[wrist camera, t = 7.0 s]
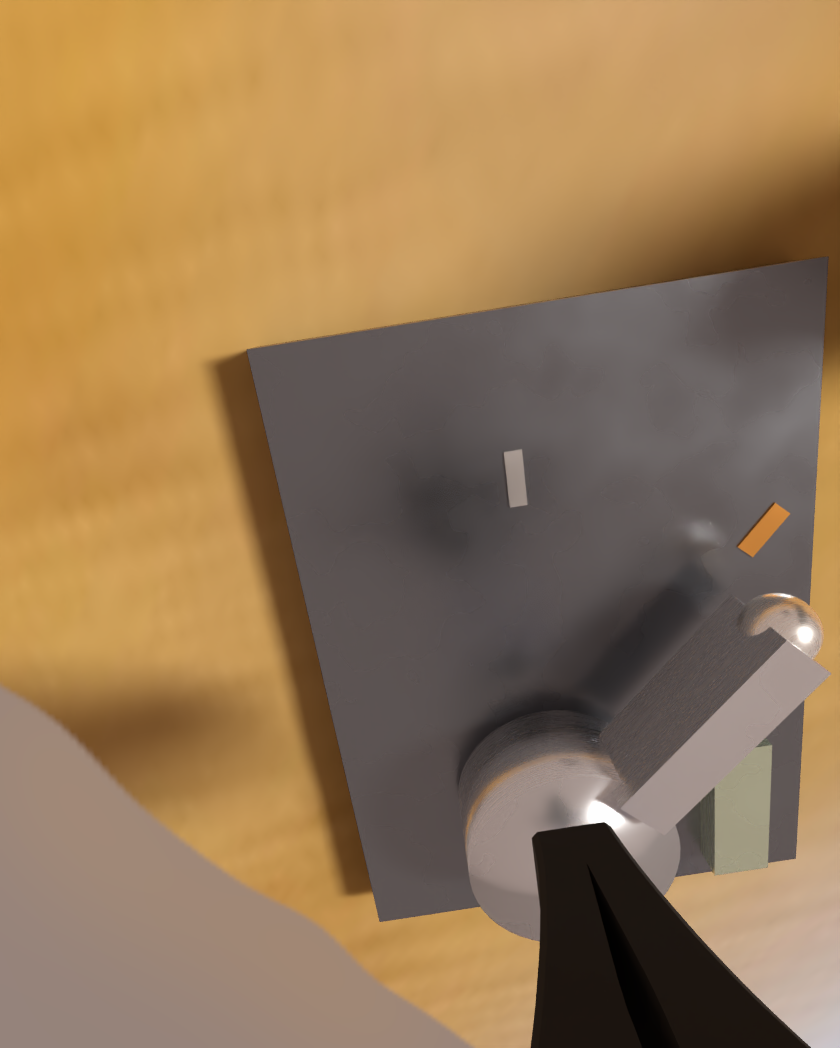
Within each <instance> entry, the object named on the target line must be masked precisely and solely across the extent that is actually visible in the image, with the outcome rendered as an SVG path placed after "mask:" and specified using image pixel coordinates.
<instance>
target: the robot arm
mask: <svg viewBox="0 0 840 1048" xmlns="http://www.w3.org/2000/svg"><path fill="white" fill-rule="evenodd" d="M532 846H533V854H534V862H535V871H536V879H537V887H538V895H539V904H540V951H539V967H538V980H537V993H536V1006H535V1015H534V1024H533V1033H532V1041H531V1048H811V1047H810V1046H809V1045H807V1044H806V1043H805V1042H804V1041H803V1040H802V1039H801V1038H800V1037H799V1036H798V1035H796V1034H795V1033H794V1032H793V1031H792V1030H791V1029H790V1028H789V1027H788V1026H787V1025H786V1024H785V1023H784V1022H783V1021H781V1020H780V1019H779V1018H778V1017H777V1016H776V1015H775V1014H774V1013H773V1012H772V1011H771V1010H770V1009H769V1008H768V1007H767V1006H766V1005H765V1004H764V1003H763V1002H762V1001H761V1000H760V999H759V998H757V997H756V996H755V995H754V994H753V993H752V992H751V991H750V990H749V989H748V988H747V987H746V986H745V985H744V984H743V983H742V982H741V981H740V979H739V978H738V977H737V976H736V975H735V974H734V973H733V972H732V971H731V970H730V969H729V968H728V967H727V966H726V965H725V964H724V963H723V962H722V961H721V960H720V959H719V958H718V957H717V955H716V954H715V953H714V952H713V951H712V950H711V949H710V948H709V947H708V946H707V945H706V944H705V943H704V941H703V940H702V939H701V938H700V937H699V936H698V935H697V934H696V933H695V931H694V930H693V929H692V928H691V927H690V926H689V925H688V923H687V922H686V921H685V920H684V919H683V918H682V917H681V915H680V914H679V913H678V912H677V911H676V910H675V909H674V907H673V906H672V905H671V904H670V903H669V902H668V900H667V899H666V898H665V897H664V896H663V894H662V893H661V892H660V891H659V890H658V888H657V887H656V886H655V885H654V883H653V882H652V881H651V880H650V878H649V877H648V876H647V875H646V873H645V872H644V871H643V870H642V868H641V867H640V866H639V865H638V863H637V862H636V861H635V859H634V858H633V857H632V855H631V854H630V853H629V851H628V850H627V849H626V847H625V846H624V845H623V843H622V842H621V840H620V839H619V838H618V836H617V835H616V833H615V832H614V830H613V829H612V827H611V826H610V825H608V824H607V823H606V822H599V823H592V824H586V825H579V826H573V827H566V828H560V829H553V830H546V831H540V832H537V833H536V834H535V835H534V836H533V837H532Z"/></svg>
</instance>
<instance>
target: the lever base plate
mask: <svg viewBox="0 0 840 1048" xmlns="http://www.w3.org/2000/svg"><path fill="white" fill-rule="evenodd" d="M827 274H828V257H820V258H813V259H805V260H797V261H790V262H784V263H778V264H771V265H765V266H759V267H753V268H746V269H740V270H734V271H728V272H722V273H715V274H709V275H703V276H697V277H690V278H684V279H678V280H672V281H665V282H659V283H653V284H647V285H640V286H634V287H628V288H622V289H615V290H609V291H603V292H597V293H590V294H584V295H578V296H572V297H565V298H559V299H553V300H547V301H541V302H534V303H528V304H522V305H516V306H509V307H503V308H497V309H491V310H484V311H478V312H472V313H466V314H459V315H453V316H447V317H441V318H434V319H428V320H422V321H416V322H409V323H403V324H397V325H391V326H384V327H378V328H372V329H366V330H360V331H353V332H347V333H341V334H335V335H328V336H322V337H316V338H310V339H303V340H297V341H291V342H285V343H278V344H272V345H266V346H260V347H255V348H251V349H247V354H248V358H249V362H250V367H251V371H252V375H253V380H254V384H255V388H256V393H257V397H258V401H259V405H260V410H261V414H262V418H263V423H264V427H265V431H266V436H267V440H268V444H269V448H270V453H271V457H272V461H273V466H274V470H275V474H276V478H277V483H278V487H279V491H280V496H281V500H282V504H283V509H284V513H285V517H286V521H287V526H288V530H289V534H290V539H291V543H292V547H293V551H294V556H295V560H296V564H297V569H298V573H299V577H300V582H301V586H302V590H303V594H304V599H305V603H306V607H307V612H308V616H309V620H310V624H311V629H312V633H313V637H314V642H315V646H316V650H317V655H318V659H319V663H320V667H321V672H322V676H323V680H324V685H325V689H326V693H327V697H328V702H329V706H330V710H331V715H332V719H333V723H334V728H335V732H336V736H337V740H338V745H339V749H340V753H341V758H342V762H343V766H344V770H345V775H346V779H347V783H348V788H349V792H350V796H351V801H352V805H353V809H354V813H355V818H356V822H357V826H358V831H359V835H360V839H361V844H362V848H363V852H364V856H365V861H366V865H367V869H368V874H369V878H370V882H371V886H372V891H373V895H374V899H375V904H376V908H377V912H378V917H379V921H380V922H383V921H389V920H396V919H402V918H409V917H415V916H422V915H429V914H435V913H442V912H448V911H455V910H461V909H468V908H474V907H481V906H480V905H479V903H478V902H477V900H476V898H475V896H474V894H473V891H472V887H471V884H470V878H469V871H468V864H467V857H466V849H465V842H464V835H463V827H462V820H461V813H460V805H459V796H458V790H459V781H460V777H461V773H462V770H463V768H464V765H465V763H466V761H467V760H468V758H469V756H470V754H471V753H472V752H473V751H474V749H475V748H476V747H477V745H478V744H479V743H480V742H481V741H482V740H483V739H484V738H485V737H487V736H488V735H489V734H490V733H492V732H493V731H494V730H496V729H497V728H499V727H501V726H502V725H504V724H505V723H508V722H510V721H512V720H514V719H516V718H519V717H522V716H525V715H528V714H532V713H537V712H542V711H551V710H567V711H575V712H581V713H585V714H589V715H592V716H594V717H597V718H599V719H601V720H603V721H605V722H607V723H609V724H610V722H611V721H612V720H613V719H614V718H615V717H616V716H617V715H618V714H619V713H620V712H621V711H622V710H623V709H624V708H625V707H626V705H627V704H628V703H629V702H630V701H631V700H632V699H633V698H634V697H635V696H636V695H637V694H638V693H639V692H640V691H641V689H642V688H643V687H644V686H645V685H646V684H647V683H648V682H649V681H650V680H651V679H652V678H653V677H654V676H655V675H656V674H657V672H658V671H659V670H660V669H661V668H662V667H663V666H664V665H665V664H666V663H667V662H668V661H669V660H670V659H671V658H672V657H673V655H674V654H675V653H676V652H677V651H678V650H679V649H680V648H681V647H682V646H683V645H684V644H685V643H686V642H687V641H688V640H689V638H690V637H691V636H692V635H693V634H694V633H695V632H696V631H697V630H698V629H699V628H700V627H701V626H702V625H703V624H704V622H705V621H706V620H707V619H708V618H709V617H710V616H711V615H712V614H713V613H714V612H715V611H716V610H717V609H718V608H719V607H720V605H721V604H722V603H723V602H724V601H725V600H726V599H727V598H728V597H729V596H730V595H731V594H732V595H733V596H734V597H736V598H737V599H738V600H740V601H741V602H742V603H744V604H746V603H747V602H749V601H750V600H752V599H753V598H755V597H757V596H760V595H763V594H767V593H784V594H789V595H792V596H795V597H797V598H799V599H801V600H803V601H804V602H806V603H807V604H808V605H810V587H811V568H812V550H813V532H814V513H815V495H816V477H817V458H818V440H819V421H820V403H821V385H822V366H823V348H824V330H825V311H826V293H827ZM803 715H804V701H803V702H802V703H801V704H800V705H799V706H798V707H797V708H795V709H794V710H793V711H792V712H791V713H790V714H789V715H788V716H787V717H786V718H785V719H784V720H783V721H782V722H781V723H780V724H779V725H778V726H777V727H776V728H775V729H774V730H773V731H772V732H771V733H770V734H769V735H768V736H767V737H766V738H765V739H764V740H762V741H761V742H760V743H759V744H758V745H757V746H756V747H755V748H754V749H753V750H752V751H751V752H750V753H749V754H748V755H747V756H746V757H745V758H744V759H743V760H742V761H741V762H740V763H739V764H738V765H737V766H736V767H735V768H734V769H733V770H732V771H731V772H730V773H728V774H727V775H726V776H725V777H724V778H723V779H722V780H721V781H720V782H719V783H718V784H717V785H716V786H715V787H714V788H713V789H712V790H711V791H710V792H709V793H708V794H707V795H706V796H705V797H704V798H703V799H702V800H701V801H700V802H699V803H698V804H697V805H695V806H694V807H693V808H692V809H691V810H690V811H689V812H688V813H687V814H686V815H685V816H684V817H683V818H682V819H681V820H680V821H679V822H678V823H677V824H676V825H675V826H676V828H677V831H678V835H679V839H680V848H681V849H680V861H679V866H678V870H677V873H676V875H675V877H678V876H684V875H691V874H698V873H704V872H711V871H712V872H713V873H714V875H722V874H728V873H735V872H741V871H748V870H754V869H761V868H768V863H770V862H776V861H783V860H789V859H796V844H797V826H798V807H799V789H800V771H801V752H802V734H803Z"/></svg>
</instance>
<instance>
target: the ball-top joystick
mask: <svg viewBox="0 0 840 1048" xmlns="http://www.w3.org/2000/svg"><path fill="white" fill-rule="evenodd" d="M823 636H824V635H823V627H822V623H821V621H820V619H819V617H818V615H817V613H816V612H815V611H814V610H813V608H812V607H810V606H809V605H808V604H807V603H806V602H804V601H803V600H801V599H799V598H797V597H795V596H792V595H789V594H784V593H767V594H763V595H760V596H757V597H755V598H753V599H752V600H750V601H749V602H747V603H746V604H744V603H742V602H741V601H740V600H738V599H737V598H736V597H734V596H733V595H732V594H731V595H730V596H729V597H728V598H727V599H726V600H725V601H724V602H723V603H722V604H721V605H720V607H719V608H718V609H717V610H716V611H715V612H714V613H713V614H712V615H711V616H710V617H709V618H708V619H707V620H706V621H705V622H704V624H703V625H702V626H701V627H700V628H699V629H698V630H697V631H696V632H695V633H694V634H693V635H692V636H691V637H690V638H689V640H688V641H687V642H686V643H685V644H684V645H683V646H682V647H681V648H680V649H679V650H678V651H677V652H676V653H675V654H674V655H673V657H672V658H671V659H670V660H669V661H668V662H667V663H666V664H665V665H664V666H663V667H662V668H661V669H660V670H659V671H658V672H657V674H656V675H655V676H654V677H653V678H652V679H651V680H650V681H649V682H648V683H647V684H646V685H645V686H644V687H643V688H642V689H641V691H640V692H639V693H638V694H637V695H636V696H635V697H634V698H633V699H632V700H631V701H630V702H629V703H628V704H627V705H626V707H625V708H624V709H623V710H622V711H621V712H620V713H619V714H618V715H617V716H616V717H615V718H614V719H613V720H612V721H611V722H610V724H609V723H607V722H605V721H603V720H601V719H599V718H597V717H594V716H592V715H589V714H585V713H581V712H575V711H567V710H551V711H542V712H537V713H532V714H528V715H525V716H522V717H519V718H516V719H514V720H512V721H510V722H508V723H505V724H504V725H502V726H501V727H499V728H497V729H496V730H494V731H493V732H492V733H490V734H489V735H488V736H487V737H485V738H484V739H483V740H482V741H481V742H480V743H479V744H478V745H477V747H476V748H475V749H474V751H473V752H472V753H471V754H470V756H469V758H468V760H467V761H466V763H465V765H464V768H463V770H462V773H461V777H460V781H459V790H458V796H459V805H460V813H461V820H462V827H463V835H464V842H465V849H466V857H467V864H468V871H469V878H470V884H471V887H472V891H473V894H474V896H475V898H476V900H477V902H478V903H479V905H480V906H481V908H482V909H483V911H484V912H485V913H486V914H487V915H488V916H489V917H490V918H491V919H492V920H493V921H495V922H496V923H497V924H498V925H500V926H501V927H503V928H505V929H506V930H508V931H510V932H512V933H514V934H517V935H519V936H522V937H525V938H528V939H531V940H536V941H540V904H539V895H538V887H537V879H536V871H535V862H534V854H533V846H532V837H533V836H534V835H535V834H536V833H537V832H540V831H546V830H553V829H560V828H566V827H573V826H579V825H586V824H592V823H599V822H606V823H607V824H608V825H610V826H611V827H612V829H613V830H614V832H615V833H616V835H617V836H618V838H619V839H620V840H621V842H622V843H623V845H624V846H625V847H626V849H627V850H628V851H629V853H630V854H631V855H632V857H633V858H634V859H635V861H636V862H637V863H638V865H639V866H640V867H641V868H642V870H643V871H644V872H645V873H646V875H647V876H648V877H649V878H650V880H651V881H652V882H653V883H654V885H655V886H656V887H657V888H658V890H659V891H660V892H661V893H662V894H663V896H664V895H665V894H666V892H667V891H668V889H669V887H670V886H671V884H672V882H673V880H674V878H675V875H676V873H677V870H678V866H679V861H680V849H681V848H680V839H679V835H678V831H677V828H676V826H675V825H676V824H677V823H678V822H679V821H680V820H681V819H682V818H683V817H684V816H685V815H686V814H687V813H688V812H689V811H690V810H691V809H692V808H693V807H694V806H695V805H697V804H698V803H699V802H700V801H701V800H702V799H703V798H704V797H705V796H706V795H707V794H708V793H709V792H710V791H711V790H712V789H713V788H714V787H715V786H716V785H717V784H718V783H719V782H720V781H721V780H722V779H723V778H724V777H725V776H726V775H727V774H728V773H730V772H731V771H732V770H733V769H734V768H735V767H736V766H737V765H738V764H739V763H740V762H741V761H742V760H743V759H744V758H745V757H746V756H747V755H748V754H749V753H750V752H751V751H752V750H753V749H754V748H755V747H756V746H757V745H758V744H759V743H760V742H761V741H762V740H764V739H765V738H766V737H767V736H768V735H769V734H770V733H771V732H772V731H773V730H774V729H775V728H776V727H777V726H778V725H779V724H780V723H781V722H782V721H783V720H784V719H785V718H786V717H787V716H788V715H789V714H790V713H791V712H792V711H793V710H794V709H795V708H797V707H798V706H799V705H800V704H801V703H802V702H803V701H804V700H805V699H806V698H807V697H808V696H809V695H810V694H811V693H812V692H813V691H814V690H815V689H816V688H817V687H818V686H819V685H820V684H821V683H822V682H823V681H824V680H825V679H826V678H827V677H828V676H829V675H831V673H830V672H829V671H828V670H826V669H825V668H824V667H823V666H822V665H820V664H819V663H818V662H817V661H815V660H814V658H815V657H816V656H817V654H818V653H819V651H820V649H821V646H822V643H823Z"/></svg>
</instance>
